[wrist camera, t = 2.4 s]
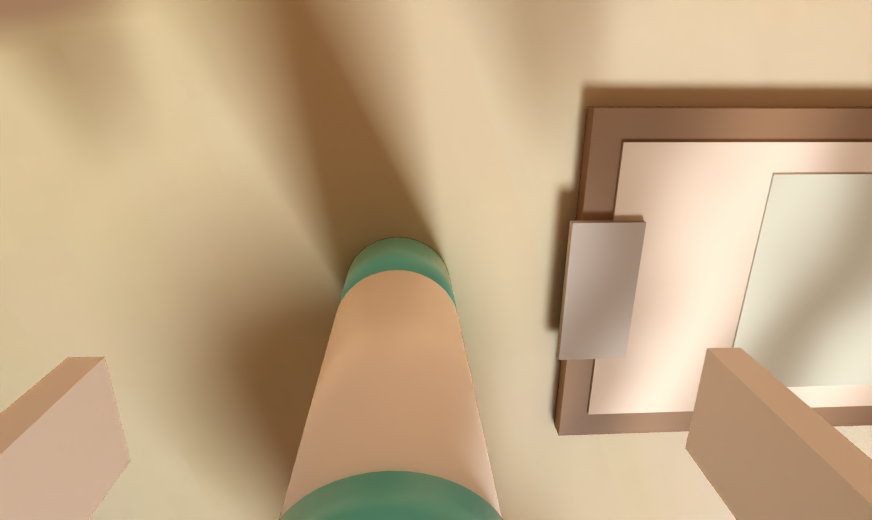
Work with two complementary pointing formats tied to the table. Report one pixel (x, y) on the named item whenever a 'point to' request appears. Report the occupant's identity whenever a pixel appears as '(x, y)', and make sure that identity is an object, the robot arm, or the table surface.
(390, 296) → the marker
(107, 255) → the table surface
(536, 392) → the table surface
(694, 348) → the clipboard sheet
